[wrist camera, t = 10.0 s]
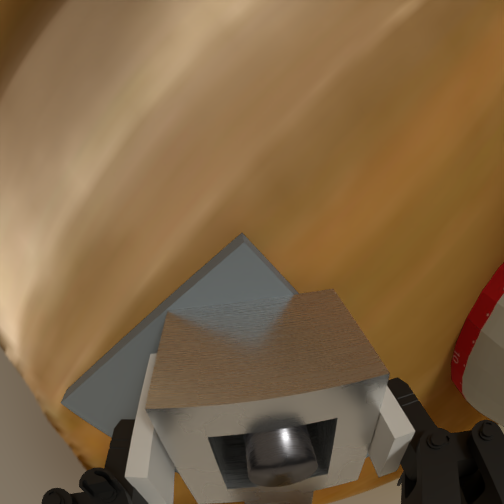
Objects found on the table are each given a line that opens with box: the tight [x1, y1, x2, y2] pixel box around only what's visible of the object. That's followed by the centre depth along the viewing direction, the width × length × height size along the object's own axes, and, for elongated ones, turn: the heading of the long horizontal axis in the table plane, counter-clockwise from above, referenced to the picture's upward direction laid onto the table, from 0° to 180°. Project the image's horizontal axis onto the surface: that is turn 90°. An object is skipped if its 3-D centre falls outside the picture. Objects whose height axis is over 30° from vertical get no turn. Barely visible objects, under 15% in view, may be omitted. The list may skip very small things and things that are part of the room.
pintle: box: [244, 424, 318, 487], centre depth 11 cm, size 2×2×6 cm
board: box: [61, 233, 369, 473], centre depth 17 cm, size 14×19×1 cm
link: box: [145, 289, 390, 504], centre depth 13 cm, size 15×7×6 cm, turn 5°
